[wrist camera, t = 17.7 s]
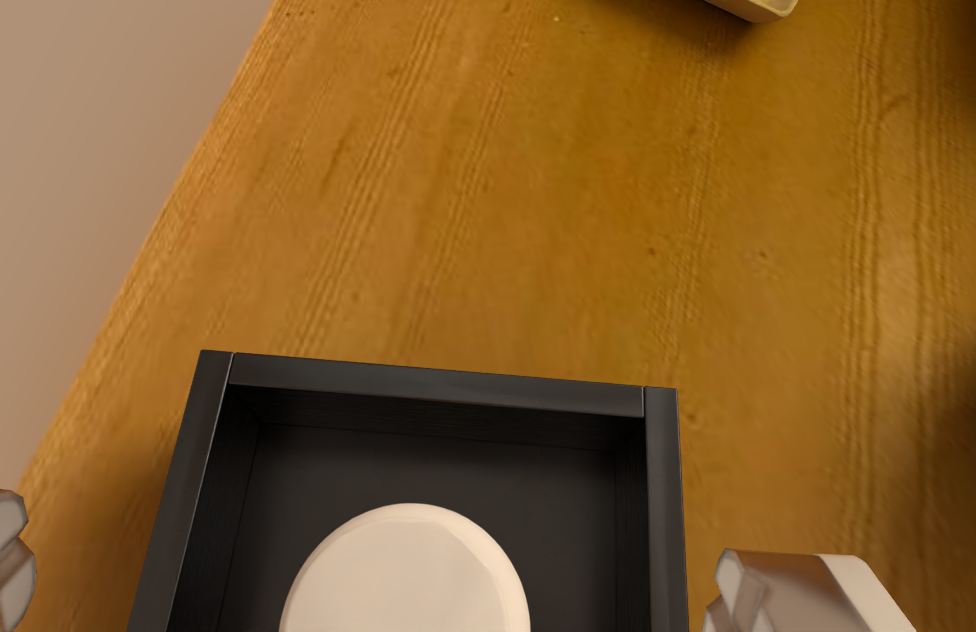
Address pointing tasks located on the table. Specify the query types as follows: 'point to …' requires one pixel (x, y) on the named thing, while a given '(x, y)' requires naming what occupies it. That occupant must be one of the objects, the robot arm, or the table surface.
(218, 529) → the open square tray
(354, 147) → the table surface
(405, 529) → the supplement bottle
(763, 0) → the saucer
